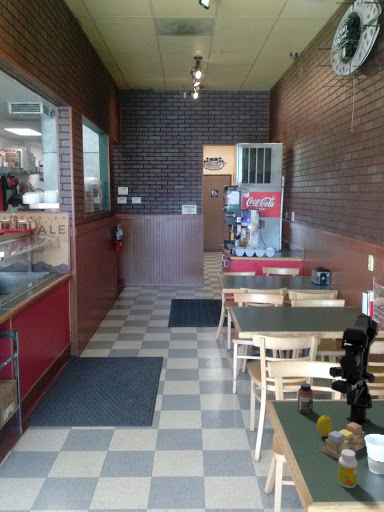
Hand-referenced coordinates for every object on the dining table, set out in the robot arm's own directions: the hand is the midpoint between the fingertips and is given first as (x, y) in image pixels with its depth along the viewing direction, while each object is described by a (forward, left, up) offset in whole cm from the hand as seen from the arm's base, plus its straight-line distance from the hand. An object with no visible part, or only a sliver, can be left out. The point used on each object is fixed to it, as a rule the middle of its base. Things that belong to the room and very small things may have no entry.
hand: (352, 404), depth 170 cm
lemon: (+9, -5, -12) cm, 16 cm away
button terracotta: (+5, +4, -9) cm, 11 cm away
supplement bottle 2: (+27, +17, -12) cm, 34 cm away
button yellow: (+10, +4, -10) cm, 15 cm away
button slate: (+16, +4, -9) cm, 19 cm away
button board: (+10, +4, -12) cm, 16 cm away
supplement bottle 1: (-3, -23, -12) cm, 26 cm away
